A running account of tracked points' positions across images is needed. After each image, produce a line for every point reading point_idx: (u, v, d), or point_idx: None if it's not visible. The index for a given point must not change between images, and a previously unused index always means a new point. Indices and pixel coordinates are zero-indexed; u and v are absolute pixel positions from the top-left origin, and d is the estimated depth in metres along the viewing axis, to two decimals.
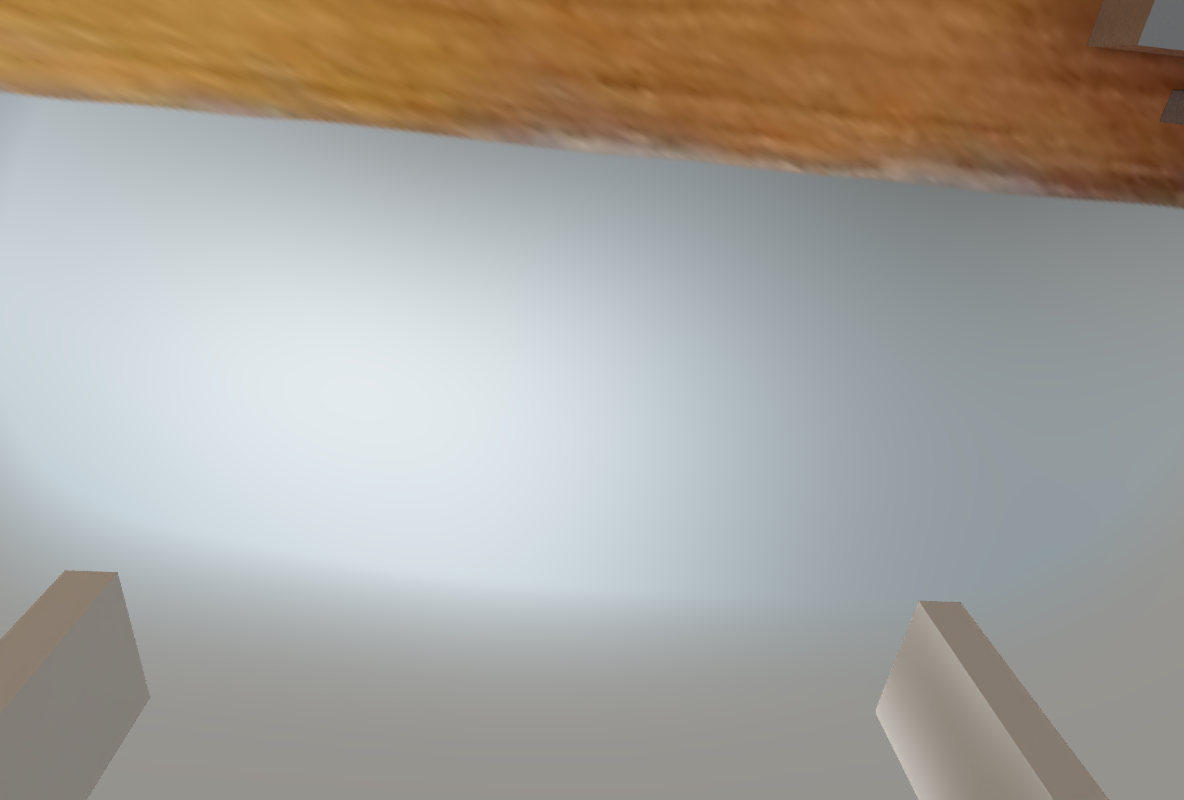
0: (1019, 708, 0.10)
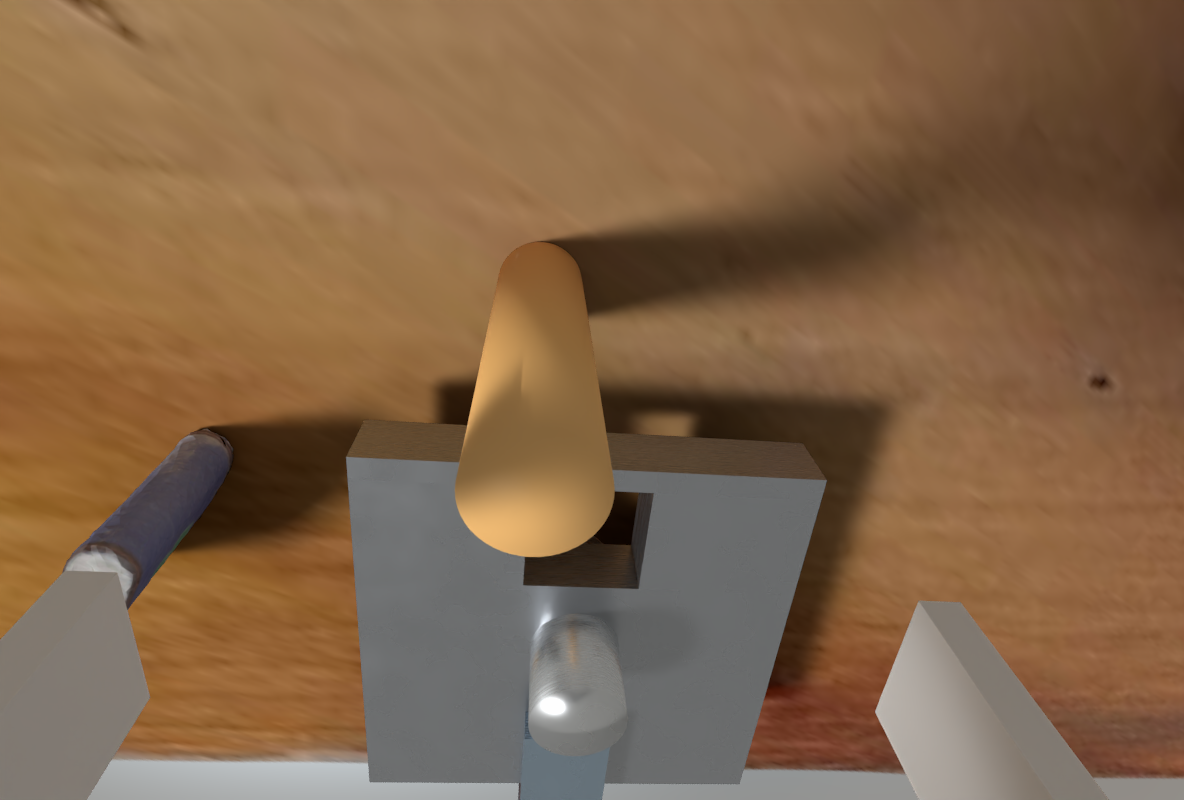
0: (1019, 708, 0.10)
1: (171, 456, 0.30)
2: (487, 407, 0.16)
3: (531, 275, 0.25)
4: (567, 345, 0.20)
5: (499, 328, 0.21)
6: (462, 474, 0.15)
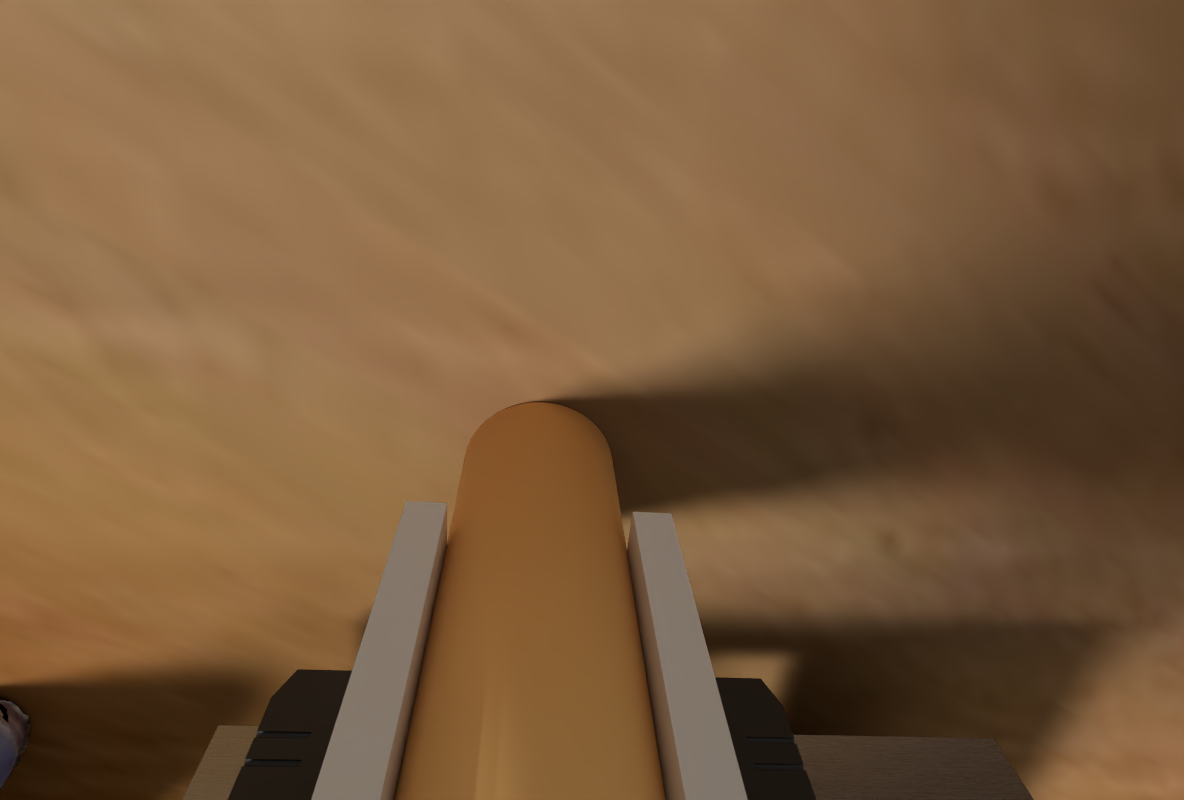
0: (672, 590, 0.11)
1: None
2: None
3: (518, 529, 0.12)
4: None
5: (427, 784, 0.08)
6: None
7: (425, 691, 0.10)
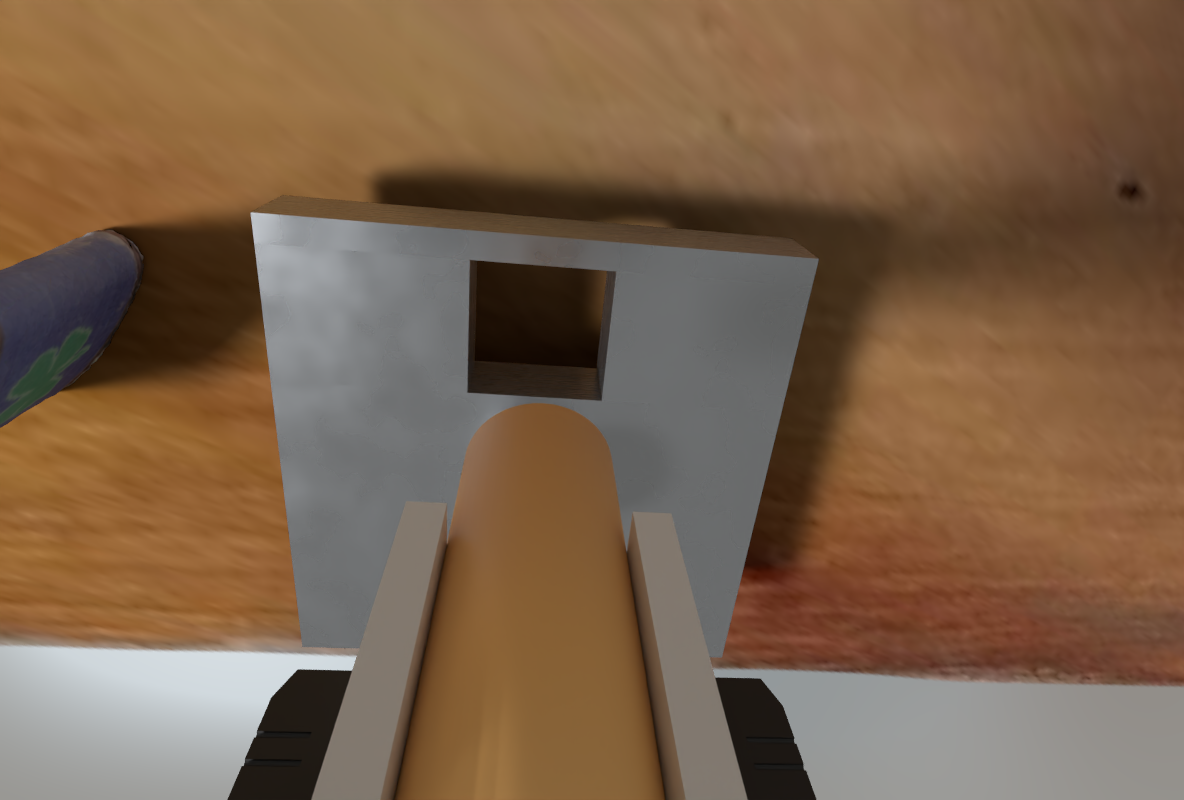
0: (672, 589, 0.11)
1: (62, 245, 0.26)
2: None
3: (518, 530, 0.12)
4: None
5: (427, 785, 0.08)
6: None
7: (425, 692, 0.10)
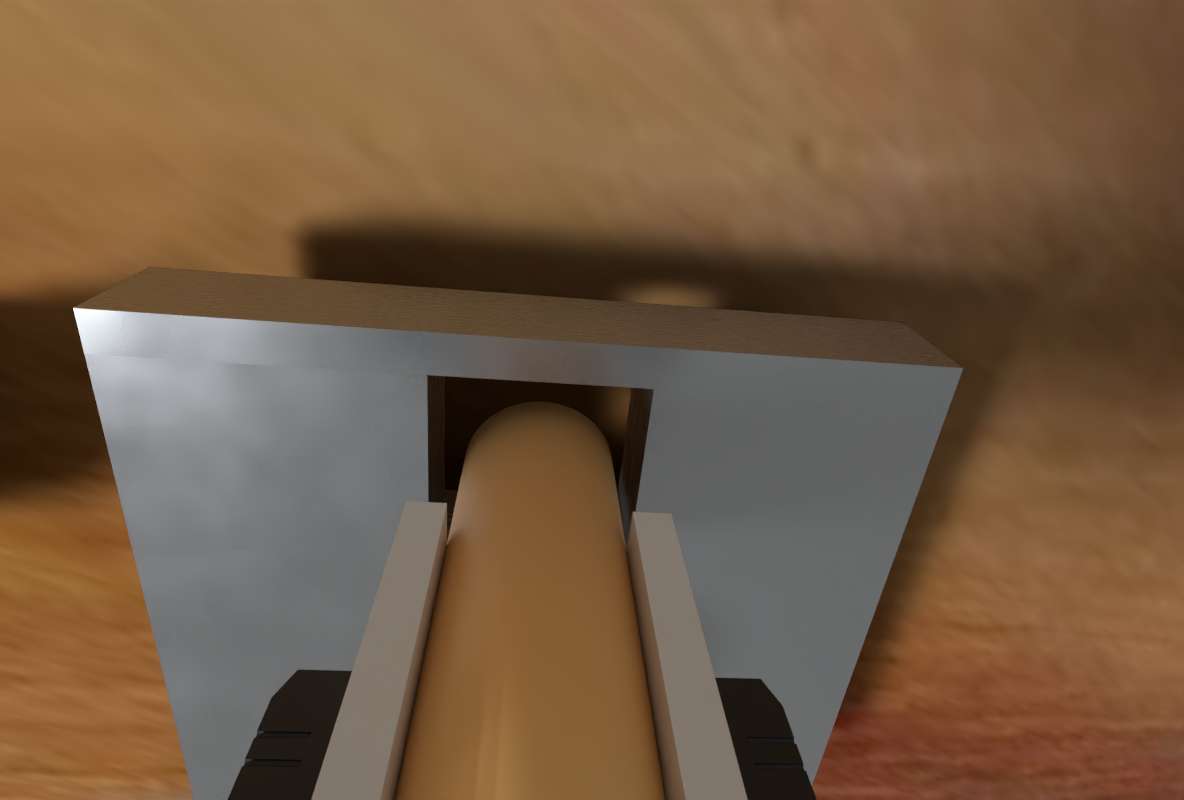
0: (672, 589, 0.11)
1: None
2: None
3: (518, 527, 0.12)
4: None
5: (429, 779, 0.08)
6: None
7: (426, 688, 0.10)
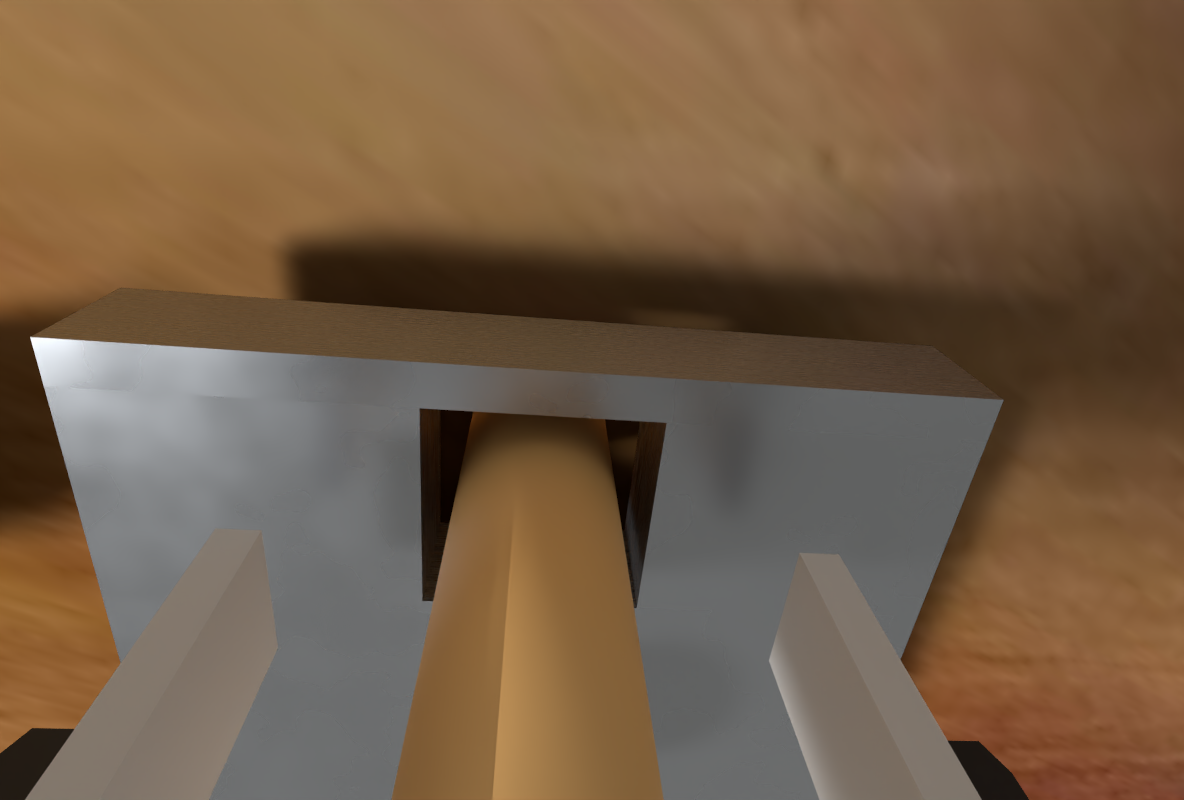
0: (870, 643, 0.11)
1: None
2: None
3: (523, 418, 0.15)
4: (589, 629, 0.10)
5: (463, 560, 0.12)
6: None
7: (457, 519, 0.13)
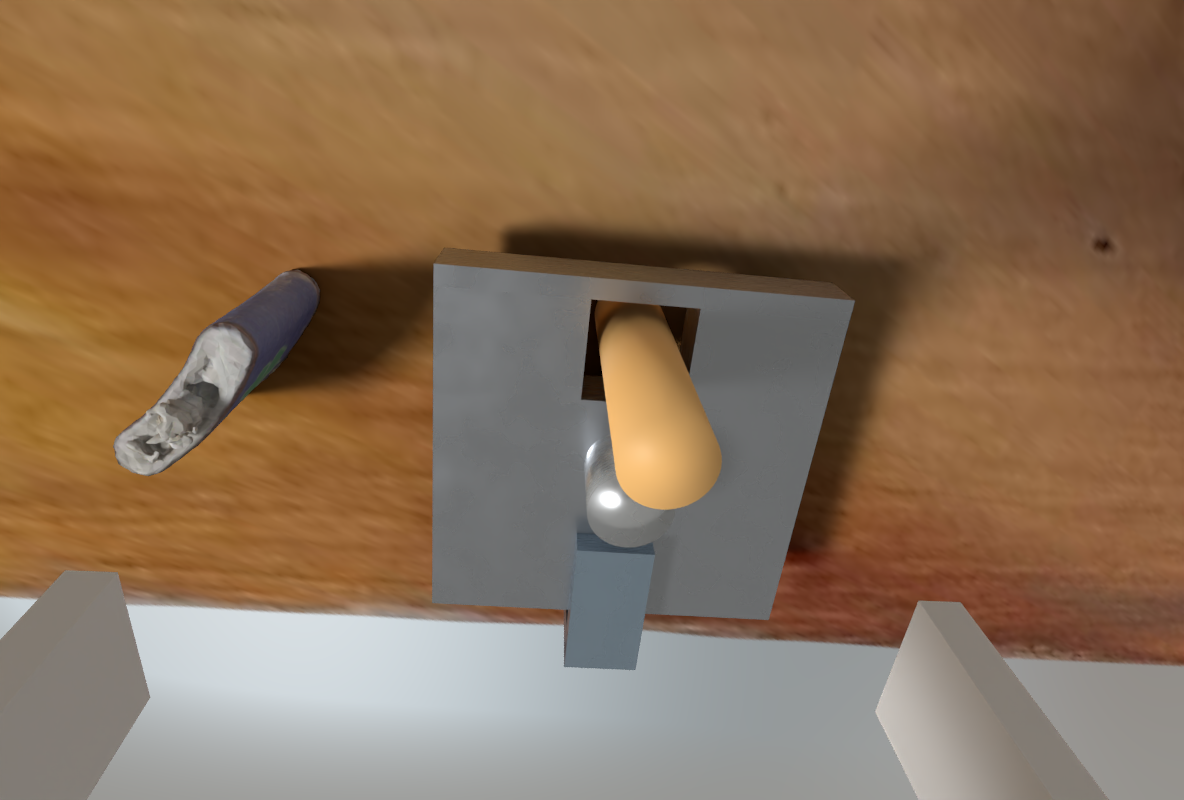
0: (1019, 708, 0.10)
1: (271, 283, 0.34)
2: (633, 407, 0.24)
3: (632, 310, 0.33)
4: (675, 364, 0.27)
5: (620, 351, 0.29)
6: (622, 450, 0.23)
7: (609, 345, 0.31)
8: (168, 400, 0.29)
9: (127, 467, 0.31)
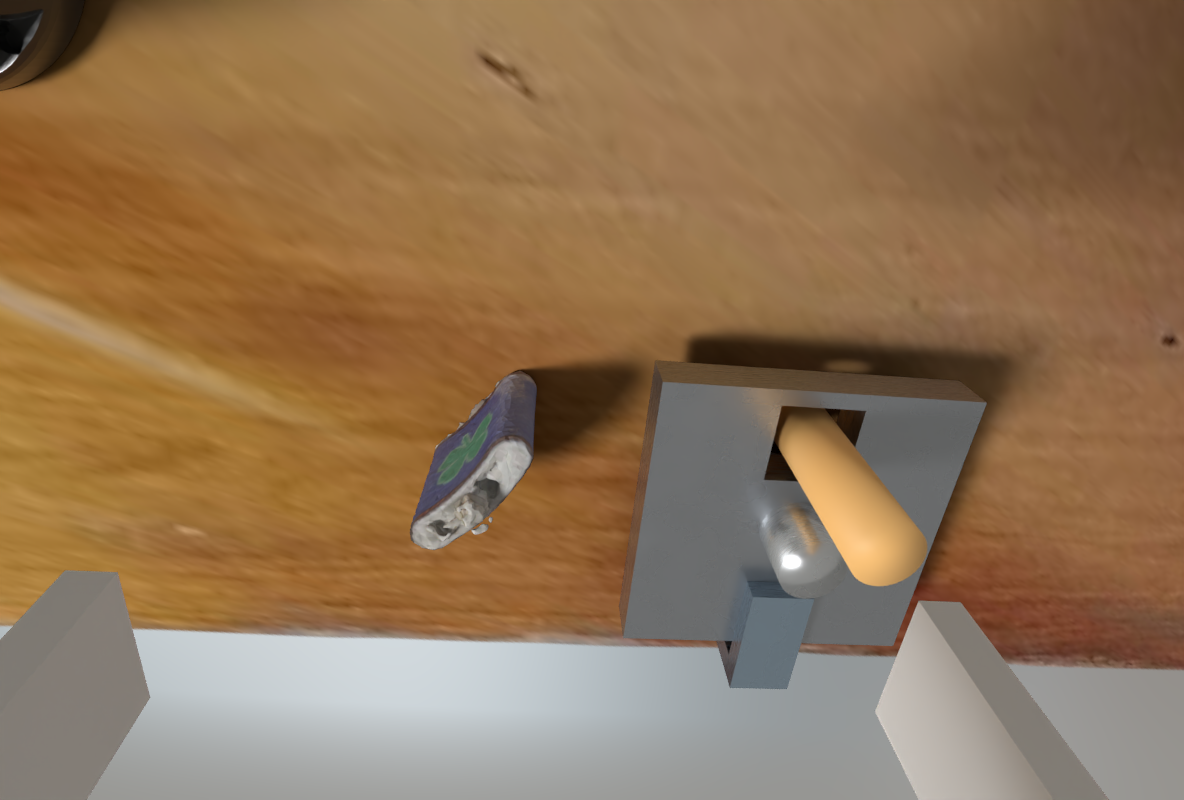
0: (1019, 708, 0.10)
1: (511, 387, 0.42)
2: (856, 510, 0.32)
3: (806, 409, 0.41)
4: (867, 467, 0.36)
5: (816, 452, 0.37)
6: (856, 546, 0.31)
7: (799, 443, 0.39)
8: (467, 496, 0.37)
9: (419, 544, 0.39)
